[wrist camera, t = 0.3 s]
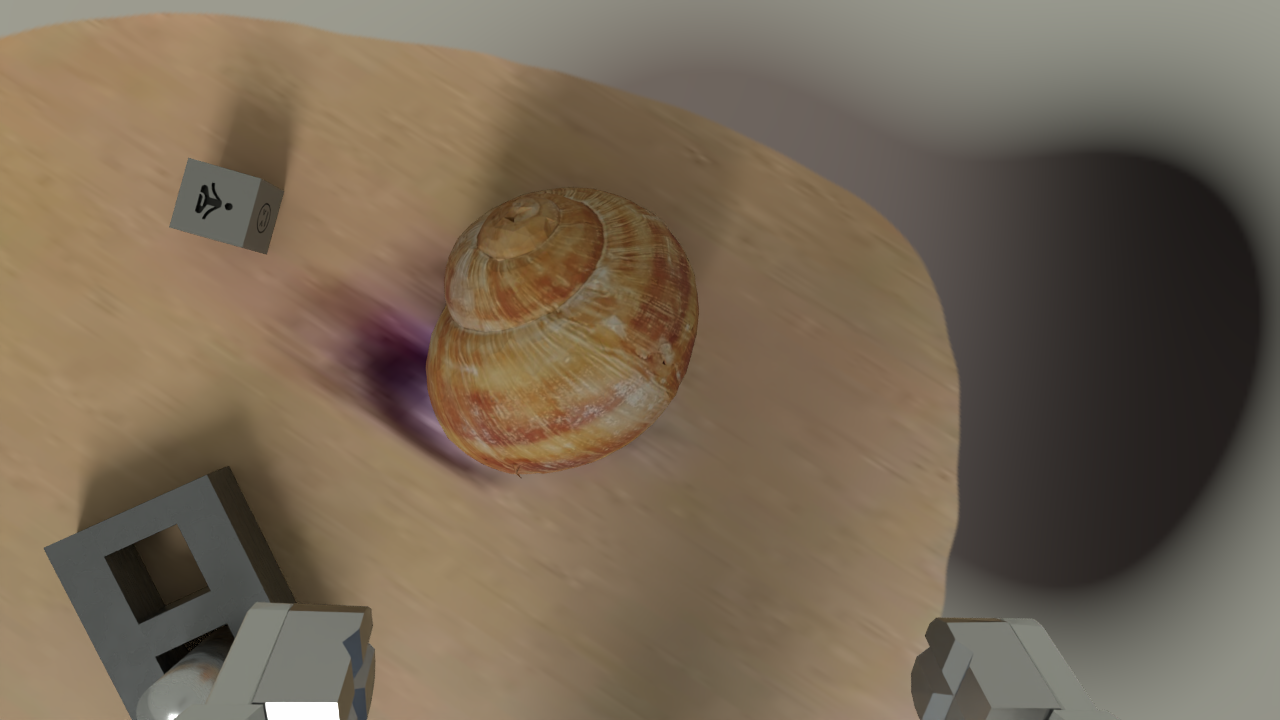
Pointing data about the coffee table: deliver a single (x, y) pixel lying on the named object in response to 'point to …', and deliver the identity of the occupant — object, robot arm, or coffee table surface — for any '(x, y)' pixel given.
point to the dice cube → (226, 206)
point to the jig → (133, 610)
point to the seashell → (560, 330)
